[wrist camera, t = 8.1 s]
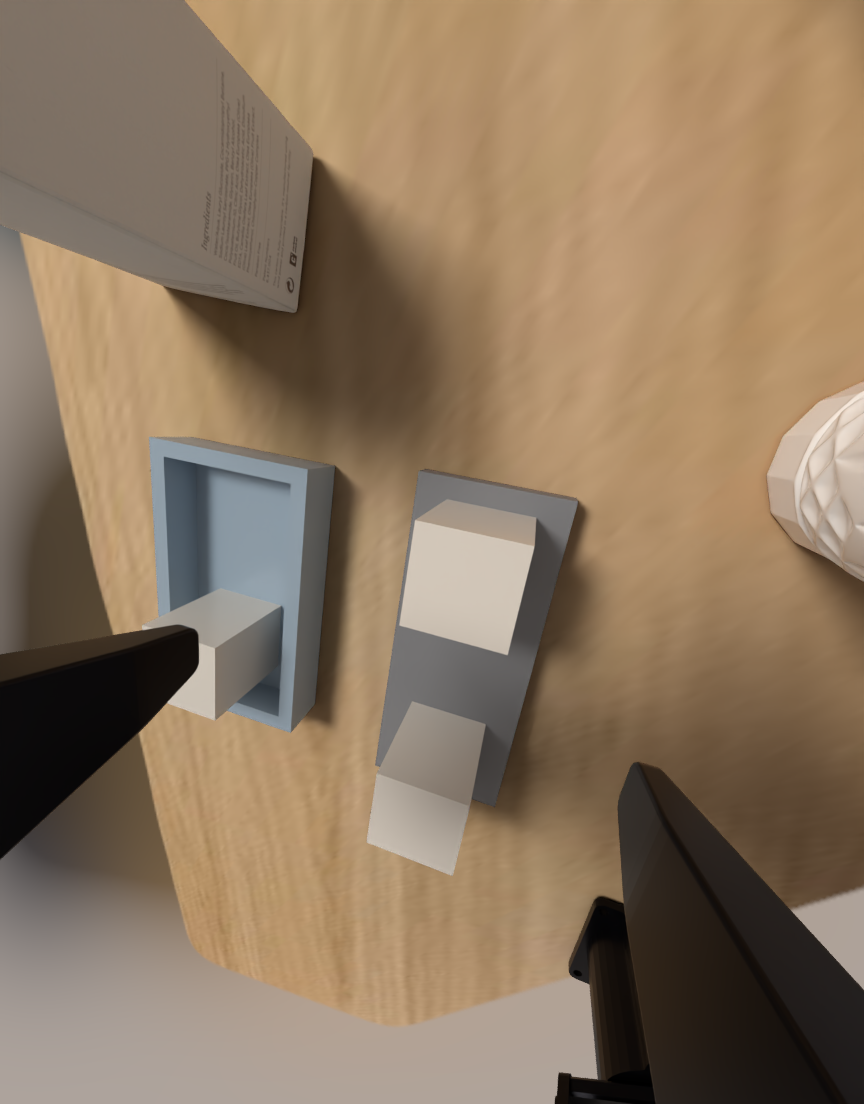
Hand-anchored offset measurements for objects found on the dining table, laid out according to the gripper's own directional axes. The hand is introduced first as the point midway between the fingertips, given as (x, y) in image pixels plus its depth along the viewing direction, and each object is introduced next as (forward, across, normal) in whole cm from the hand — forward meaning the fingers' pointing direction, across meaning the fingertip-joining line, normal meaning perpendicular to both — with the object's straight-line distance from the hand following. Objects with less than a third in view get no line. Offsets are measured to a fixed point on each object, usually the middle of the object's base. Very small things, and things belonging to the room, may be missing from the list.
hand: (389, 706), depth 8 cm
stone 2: (+11, 0, 0) cm, 11 cm away
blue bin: (+13, +12, +5) cm, 18 cm away
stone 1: (+12, +12, +8) cm, 19 cm away
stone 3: (+11, 0, +11) cm, 16 cm away
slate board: (+13, 0, +5) cm, 14 cm away
